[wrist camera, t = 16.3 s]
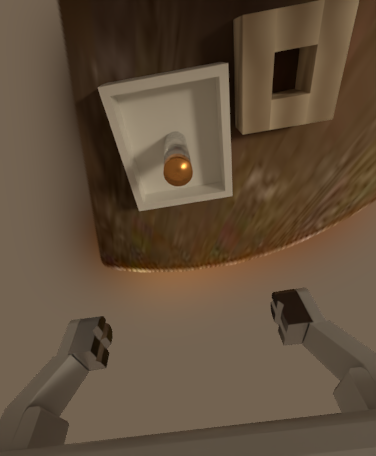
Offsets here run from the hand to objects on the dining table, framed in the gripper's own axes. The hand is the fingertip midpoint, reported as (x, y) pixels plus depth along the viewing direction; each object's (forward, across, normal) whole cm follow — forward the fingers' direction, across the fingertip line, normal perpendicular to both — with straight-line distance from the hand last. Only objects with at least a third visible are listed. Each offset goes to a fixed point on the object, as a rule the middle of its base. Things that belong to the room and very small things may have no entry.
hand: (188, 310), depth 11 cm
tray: (+27, 0, 0) cm, 27 cm away
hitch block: (+27, -14, -6) cm, 31 cm away
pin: (+26, 0, 0) cm, 26 cm away
